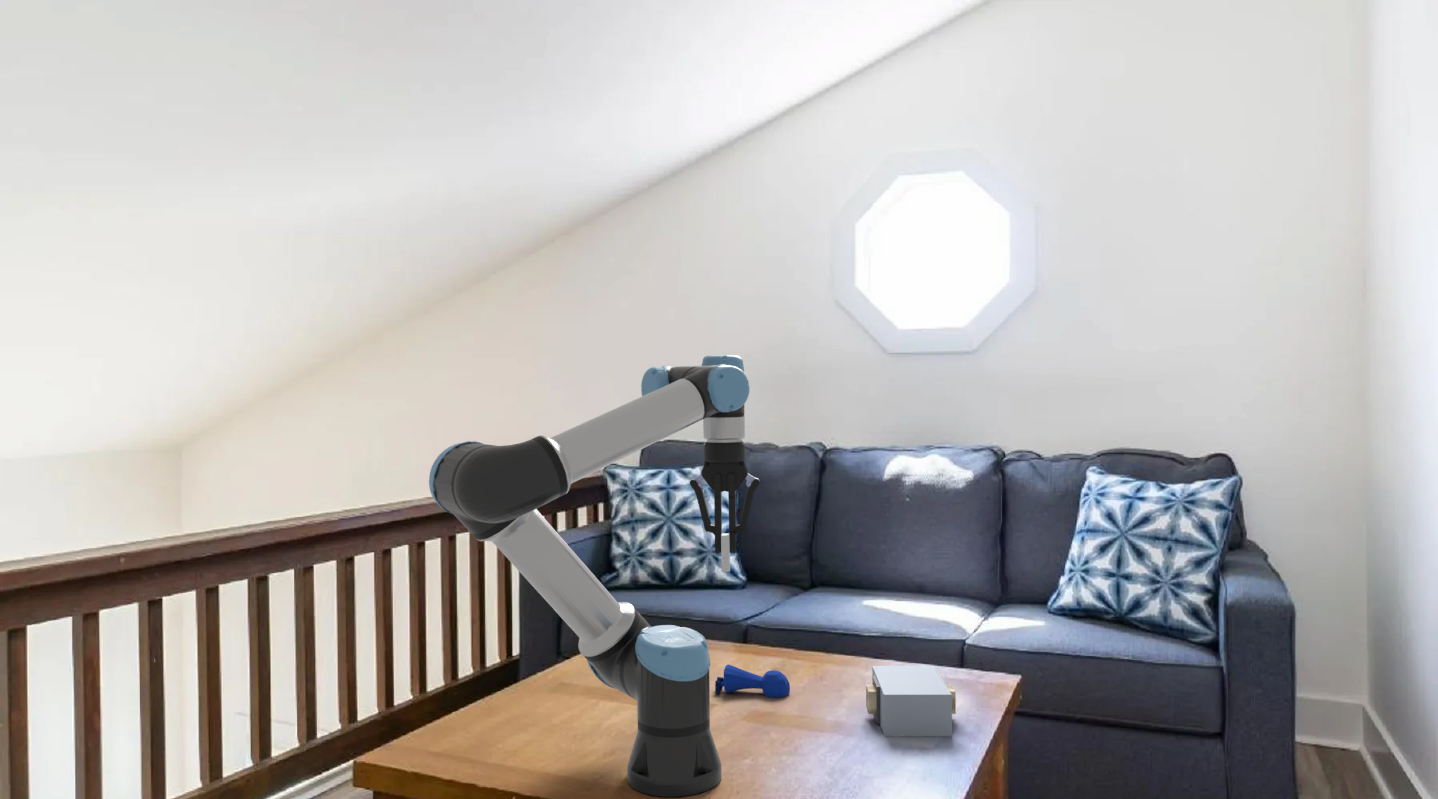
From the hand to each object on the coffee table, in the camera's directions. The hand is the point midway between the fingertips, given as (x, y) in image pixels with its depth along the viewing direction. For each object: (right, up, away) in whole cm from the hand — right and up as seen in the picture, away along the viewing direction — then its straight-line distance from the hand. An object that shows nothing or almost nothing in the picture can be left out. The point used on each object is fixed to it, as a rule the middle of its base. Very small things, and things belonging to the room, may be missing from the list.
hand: (725, 570), depth 184 cm
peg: (+35, -27, +5) cm, 44 cm away
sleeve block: (+35, -29, +5) cm, 45 cm away
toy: (+6, -29, +23) cm, 37 cm away
